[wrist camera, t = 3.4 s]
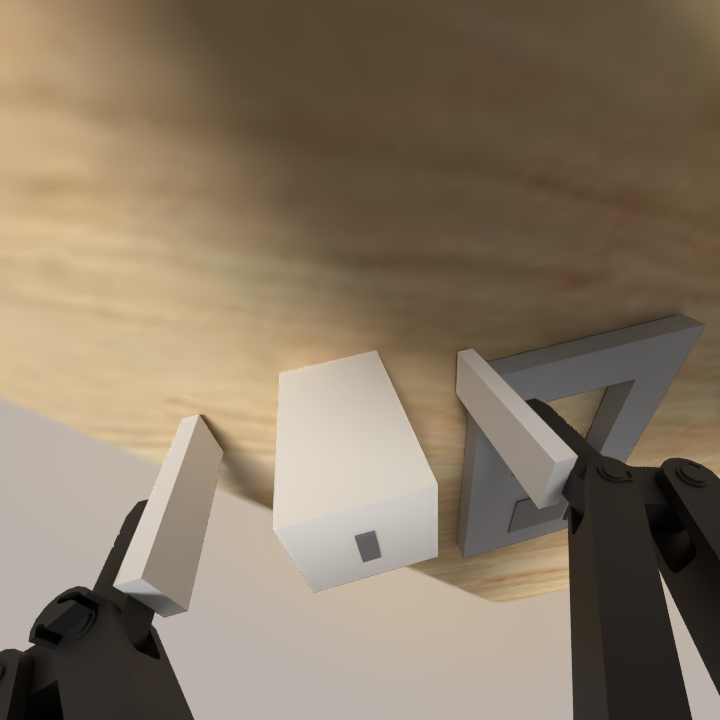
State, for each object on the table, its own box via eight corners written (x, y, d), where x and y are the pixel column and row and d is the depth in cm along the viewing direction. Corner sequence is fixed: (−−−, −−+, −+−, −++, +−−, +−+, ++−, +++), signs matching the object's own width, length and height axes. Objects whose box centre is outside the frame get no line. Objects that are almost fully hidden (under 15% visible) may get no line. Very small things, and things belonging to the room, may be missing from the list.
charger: (279, 372, 13) (271, 533, 8) (376, 349, 14) (439, 487, 8) (305, 438, 16) (313, 596, 10) (386, 418, 16) (439, 559, 11)
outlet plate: (471, 365, 15) (484, 380, 14) (680, 314, 16) (707, 325, 15) (457, 543, 27) (464, 559, 26) (580, 508, 28) (591, 522, 27)
